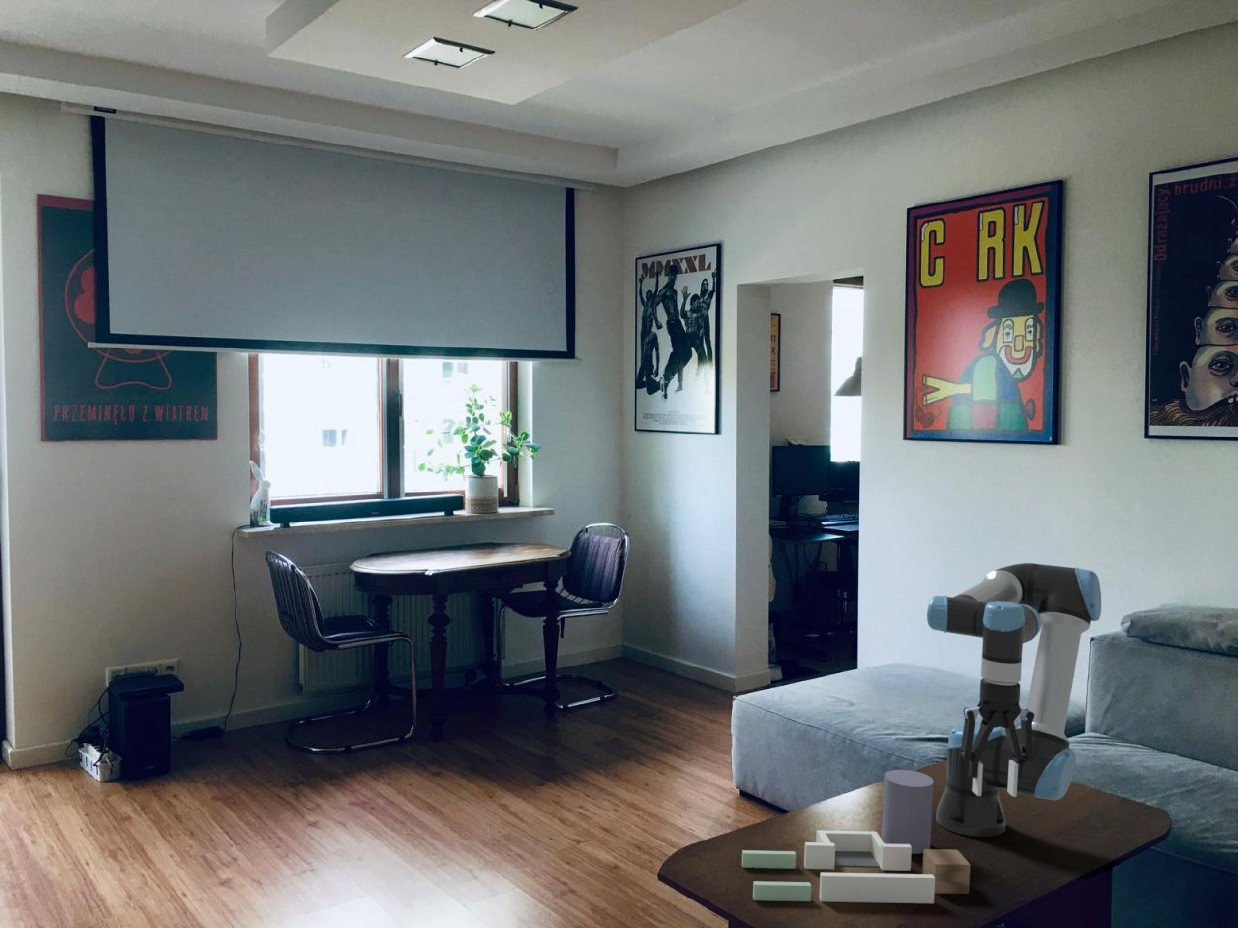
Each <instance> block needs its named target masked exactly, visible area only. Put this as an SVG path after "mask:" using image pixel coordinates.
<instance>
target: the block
mask: <svg viewBox="0 0 1238 928" xmlns="http://www.w3.org/2000/svg"><path fill="white" fill-rule="evenodd" d="M922 854H923V855H922V873H921V874H931V875H933V876H934V877H935V892H934V894H941V895H942V894H947V895H948V894H949V895H950V894H951V895H952V894H953V895H955V894H956V895H958V894H960V895H969V894H970V884H971V883H970V881H971V864H970V862H969V861H968V860H967V859H966V858H965V856H964V855H963V854H962V853H961V852H960V851H959V849H937V848H935V849H933V848H930V849H924V851H923V853H922Z"/></svg>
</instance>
